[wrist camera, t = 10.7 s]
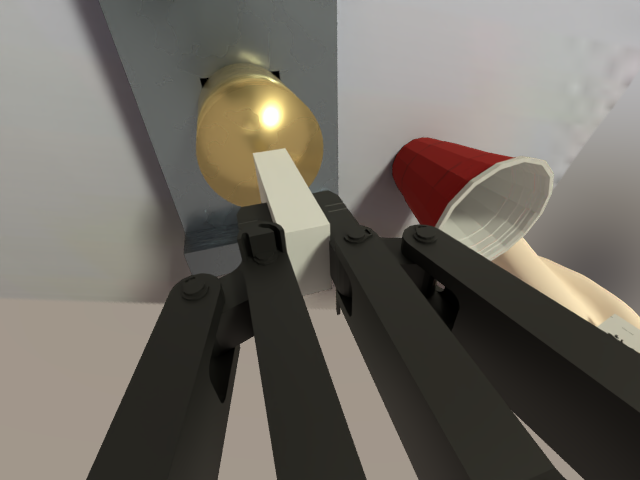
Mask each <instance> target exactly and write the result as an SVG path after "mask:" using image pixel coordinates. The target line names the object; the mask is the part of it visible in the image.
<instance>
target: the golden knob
mask: <svg viewBox="0 0 640 480" xmlns="http://www.w3.org/2000/svg"><path fill="white" fill-rule="evenodd" d="M284 148H286V150H287V152H288V154H289V155H290V157H291V159H292V160H293V162H294V164H295V165H296V167H297V169H298V171H299V172H300V174H301V176H302V177H303V179H304V181H305V182H306V184H307V186H308V187H309V186H310V185H311V184H312V182H313V181H314V179H315V177H316V176H317V174H318V171H319V169H320V166H321V163H322V158H323V137H322V133H321V129H320V127H319V124H318V122H317V120H316V118H315V116H314V115H313V113H312V112H311V110H310V109H309V108H308V107H307V106H306V105H305V104H304V103H303V102H302V101H301V100H300V99H299V98H298V97H297V96H296V95H295V94H294V93H293V92H292V91H291V90H290V89H289V88H288V87H286V86H285V85H284V84H283V83H282V82H281V81H280V80H279V79H278V78H277V77H276V76H275V75H274V74H272V73H271V72H270V71H268V70H266V69H265V68H263V67H260V66H258V65H254V64H250V63H235V64H230V65H227V66H225V67H223V68H221V69H219V70H217V71H216V72H215V73H213V74H212V75H211V76H210V77H209V78H208V80H207V81H206V82H205V84H204V86H203V88H202V90H201V93H200V96H199V101H198V116H197V135H196V156H197V161H198V165H199V168H200V170H201V173H202V175H203V177H204V178H205V180H206V182H207V183H208V184H209V186H210V187H211V188H212V189H213V190H214V191H215V192H216V193H217V194H218V195H220V196H221V197H222V198H224V199H225V200H227V201H228V202H230V203H233V204H235V205H237V206H240V207H244V206H250V205H255V204H261V197H260V191H259V186H258V180H257V175H256V169H255V163H254V158H253V153H257V152H264V151H271V150H277V149H284Z"/></svg>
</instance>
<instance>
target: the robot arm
mask: <svg viewBox="0 0 640 480" xmlns="http://www.w3.org/2000/svg"><path fill="white" fill-rule="evenodd" d="M253 158H254V163H255V169H256V175H257V180H258V186H259V191H260V197H261V204H255V205H250V206H244V207H241V208H240V210H239V211H238V213H237V215H236V216H237V222H238V228H239V233H238V236H237V242H238V246H239V250H240V254H241V258H242V261H241V264H240V265H239V266H238V267H237V268H236V269H235V270H234V271H233V272H231V273H229V274H227V275H226V276H223V277H221V278H219V279H218V278H217V277H216V276H214V275H211V274H205V273H200V274H195V275H191V276H189V277H187V278H184V279H182V280H181V281H180V282H178V283H177V284H176V285H175V286H174V287H173V289H172V290H171V292H170V293H169V296H168V298H167V300H166V302H165V305H164V307H163V309H162V312H161V314H160V316H159V318H158V321H157V322H156V325H155V327H154V329H153V331H152V334H151V336H150V338H149V340H148V343H147V345H146V347H145V349H144V352H143V354H142V356H141V359H140V360H139V363H138V365H137V367H136V369H135V372H134V374H133V376H132V378H131V381H130V383H129V385H128V387H127V390H126V392H125V395H124V396H123V399H122V401H121V403H120V405H119V408H118V410H117V412H116V414H115V416H114V419H113V421H112V423H111V425H110V428H109V430H108V432H107V434H106V437H105V439H104V441H103V443H102V445H101V448H100V450H99V452H98V454H97V457H96V459H95V461H94V464H93V466H92V468H91V470H90V472H89V475H88V477H87V479H86V480H218V473H219V468H220V462H221V456H222V449H223V444H224V439H225V433H226V427H227V421H228V415H229V410H230V404H231V397H232V392H233V386H234V380H235V374H236V368H237V362H238V357H239V351H240V344H241V343H243V342H244V341H246V340H248V339H250V338H251V337H253V336H254V337H255V343H256V350H257V356H258V362H259V368H260V375H261V380H262V387H263V394H264V399H265V406H266V412H267V418H268V425H269V431H270V438H271V444H272V450H273V457H274V462H275V469H276V475H277V480H366V477H365V474H364V471H363V468H362V465H361V462H360V459H359V457H358V454H357V451H356V448H355V445H354V442H353V439H352V437H351V434H350V431H349V428H348V425H347V422H346V419H345V416H344V414H343V411H342V408H341V405H340V402H339V399H338V396H337V393H336V391H335V388H334V385H333V382H332V379H331V376H330V374H329V371H328V368H327V365H326V362H325V359H324V356H323V353H322V350H321V348H320V345H319V342H318V339H317V336H316V333H315V330H314V328H313V325H312V322H311V319H310V316H309V313H308V310H307V308H306V305H305V302H304V299H303V296H305V295H309V294H313V293H317V292H321V291H325V290H329V289H332V280H333V282H334V284H335V286H336V311H337V315H338V314H340V308H341V310H342V312H343V314H344V316H345V319H346V321H347V323H348V325H349V327H350V330H351V332H352V334H353V336H354V338H355V341H356V343H357V345H358V347H359V349H360V352H361V354H362V356H363V358H364V360H365V363H366V365H367V367H368V369H369V371H370V374H371V376H372V378H373V380H374V382H375V384H376V387H377V389H378V391H379V393H380V396H381V398H382V400H383V402H384V404H385V407H386V409H387V411H388V413H389V415H390V418H391V420H392V422H393V424H394V426H395V428H396V431H397V433H398V435H399V437H400V440H401V442H402V444H403V446H404V448H405V451H406V453H407V455H408V457H409V459H410V461H411V464H412V466H413V468H414V470H415V472H416V475H417V477H418V479H419V480H566V479H565V478H564V477H563V476H562V475H561V474H560V473H559V472H558V470H556V468H555V467H554V466H553V465H552V463H551V462H550V460H549V459H548V458H547V456H546V455H545V454H544V452H543V451H542V450H541V449H540V447H539V446H538V445H537V443H536V442H535V441H534V440H533V438H532V437H531V435H530V434H529V433H528V432H527V430H526V429H525V428H524V426H523V425H522V424H521V422H520V421H519V420H518V418H517V417H516V416H515V415H514V413H515V414H516V415H517V416H518V417H519V418H520V419H521V420H522V421H523V422H524V423H525V424H527V425H528V426H529V427H530V428H531V429H532V430H533V431H534V432H535V433H536V434H537V435H538V436H539V437H540V438H541V439H542V440H543V441H544V442H545V443H547V444H548V445H549V446H550V447H551V448H552V449H553V450H554V451H555V452H556V453H557V454H558V455H559V456H560V457H561V458H562V459H563V460H564V461H565V462H567V463H568V464H569V465H570V466H571V467H572V468H573V469H574V470H575V471H576V472H577V473H578V474H579V475H580V476H581V477H582V478H584V480H640V353H638V352H636V351H635V350H633V349H632V348H630V347H628V346H627V345H625V344H623V343H622V342H620V341H619V340H617V339H615V338H614V337H612V336H611V335H609V334H607V333H606V332H604V331H603V330H601V329H599V328H598V327H596V326H595V325H593V324H591V323H590V322H588V321H586V320H585V319H583V318H582V317H580V316H578V315H577V314H575V313H574V312H572V311H570V310H569V309H567V308H566V307H564V306H562V305H561V304H559V303H558V302H556V301H554V300H553V299H551V298H549V297H548V296H546V295H545V294H543V293H541V292H540V291H538V290H537V289H535V288H533V287H532V286H530V285H529V284H527V283H525V282H524V281H522V280H521V279H519V278H517V277H516V276H514V275H512V274H511V273H509V272H508V271H506V270H504V269H503V268H501V267H500V266H498V265H496V264H495V263H493V262H492V261H490V260H488V259H487V258H485V257H484V256H482V255H480V254H479V253H477V252H475V251H474V250H472V249H471V248H469V247H467V246H466V245H464V244H463V243H461V242H459V241H458V240H456V239H455V238H453V237H451V236H450V235H448V234H447V233H445V232H443V231H442V230H440V229H438V228H436V227H433V226H429V225H413V226H409V227H408V228H407V229H405V230H404V232H403V236H402V238H381V237H378V235H377V234H376V233H375V232H374V231H373V230H372V229H370V228H368V227H365V226H360V225H359V224H358V222H357V221H356V220H355V218H354V217H353V215H352V214H351V213H350V211H349V210H348V209H347V207H346V206H345V204H344V203H343V202H342V200H341V199H340V197H339V196H338V195H337V194H335V193H333V192H331V191H329V190H327V191H321V192H316V193H311V191H310V189H309V188H308V186H307V184H306V182H305V181H304V179H303V177H302V176H301V174H300V172H299V171H298V169H297V167H296V165H295V164H294V162H293V160H292V159H291V157H290V155H289V154H288V152H287V150H286V148H284V149H277V150H271V151H264V152H257V153H253ZM437 281H439V282H440V283H441V284H443V285H444V286H445V289H442V288H440V287H439V286H437ZM511 410H512V411H513V412H514V413H513V412H512V411H511Z"/></svg>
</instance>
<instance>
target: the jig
mask: <svg viewBox="0 0 640 480" xmlns="http://www.w3.org/2000/svg"><path fill="white" fill-rule="evenodd" d="M99 3H100V6H101V9H102V11H103V14H104V17H105V19H106V22H107V25H108V27H109V30H110V33H111V35H112V38H113V41H114V43H115V46H116V49H117V51H118V54H119V57H120V59H121V62H122V65H123V67H124V70H125V73H126V75H127V78H128V81H129V83H130V86H131V89H132V91H133V94H134V97H135V100H136V102H137V105H138V108H139V110H140V113H141V116H142V118H143V121H144V124H145V126H146V129H147V132H148V134H149V137H150V140H151V142H152V145H153V148H154V150H155V153H156V156H157V158H158V161H159V164H160V166H161V169H162V172H163V174H164V177H165V180H166V182H167V185H168V188H169V190H170V193H171V196H172V199H173V201H174V204H175V207H176V209H177V212H178V215H179V217H180V220H181V223H182V225H183V228H184V231H185V245H184V256H185V258H186V261H187V263H188V266H189V268H190V271H191V273H192V275H195V274H200V273H205V274H211V275H214V276H220V275H224V274H229V273H231V272H233V271H234V270H235V269H236V268H237V267H238V266H239V265H240V264H241V261H242V258H241V254H240V250H239V246H238V242H237V236H238V233H239V228H238V222H237V216H236V215H237V213H238V211H239V210H240V208H241V207H240V206H237V205H235V204H233V203H230V202H228V201H227V200H225V199H224V198H222V197H221V196H220V195H218V194H217V193H216V192H215V191H214V190H213V189H212V188H211V187H210V186H209V184H208V183H207V182H206V180H205V178H204V177H203V175H202V173H201V170H200V168H199V165H198V161H197V156H196V135H197V116H198V101H199V96H200V93H201V90H202V88H203V86H204V85H203V81H202V78H209V77H210V76H211V75H212V74H213V73H215V72H216V71H217V70H219V69H221V68H223V67H225V66H227V65H230V64H235V63H250V64H254V65H258V66H260V67H263V68H265V69H266V70H268V71H270V72H272V71H273V74H274V75H275V76H276V77H277V78H278V79H279V80H280V81H281V82H282V83H283V84H284V85H285V86H286V87H288V88H289V89H290V90H291V91H292V92H293V93H294V94H295V95H296V96H297V97H298V98H299V99H300V100H301V101H302V102H303V103H304V104H305V105H306V106H307V107H308V108H309V109H310V110H311V112H312V113H313V115H314V116H315V118H316V120H317V122H318V124H319V127H320V129H321V133H322V137H323V158H322V163H321V166H320V169H319V171H318V174H317V176H316V177H315V179H314V181H313V182H312V184H311V185H310V186H309V187H308V188H309V189H310V191H311V193H316V192H321V191H327V190H329V191H331V192H333V193H335V194H337V195H338V105H337V0H99Z"/></svg>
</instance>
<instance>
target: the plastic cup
mask: <svg viewBox="0 0 640 480" xmlns="http://www.w3.org/2000/svg"><path fill="white" fill-rule="evenodd" d="M392 175H393V178H394V181H395V183H396V185H397V187H398V189H399V190H400V192H401V193H402V195H403V196H404V199H405V201H406V203H407V204H408V206H409V207H410V209H411V210H412V212H413V214H414V215H415V217H416V218H417V220H418V222H419V223H420V225H429V226H433V227H436V228H438V229H440V230H442V231H443V232H445V233H447V234H448V235H450V236H451V237H453V238H455V239H456V240H458V241H459V242H461V243H463V244H464V245H466V246H467V247H469V248H471V249H472V250H474V251H475V252H477V253H479V254H480V255H482V256H484V257H485V258H487V259H488V260H490V261H492V260H493V259H495V258H497V257H498V256H500V255H501V254H503V253H505V252H506V251H508V250H509V249H510V248H511V247H512V246H513V245H514V244H515V243H517V242H518V241H519V240H520V239H521V238H522V237H523V236H524V235H525V234H526V233H527V232H528V231H529V230H530V228H531V227H532V226H533V225H534V223H535V222H536V221H537V219H538V218H539V217H540V216H541V214H542V213H543V210H544V208H545V206H546V204H547V202H548V200H549V198H550V196H551V194H552V188H553V177H554V173H553V172H552V170H551V168H550V167H549V165H548V164H547V162H546V161H545V160H540V159H535V158H530V157H524V156H519V157H508V156H503V155H498V154H493V153H488V152H484V151H481V150H477V149H473V148H470V147H466V146H462V145H459V144H455V143H450V142H446V141H440V140H437V139H432V138H423V137H422V138H418V139H414V140H412V141H411V142H409V143H408V144H406V145H405V146H403V148H402V149H401V150H400V151H399V153H398V154H397V155H396V157H395V160H394V163H393V165H392Z"/></svg>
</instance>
